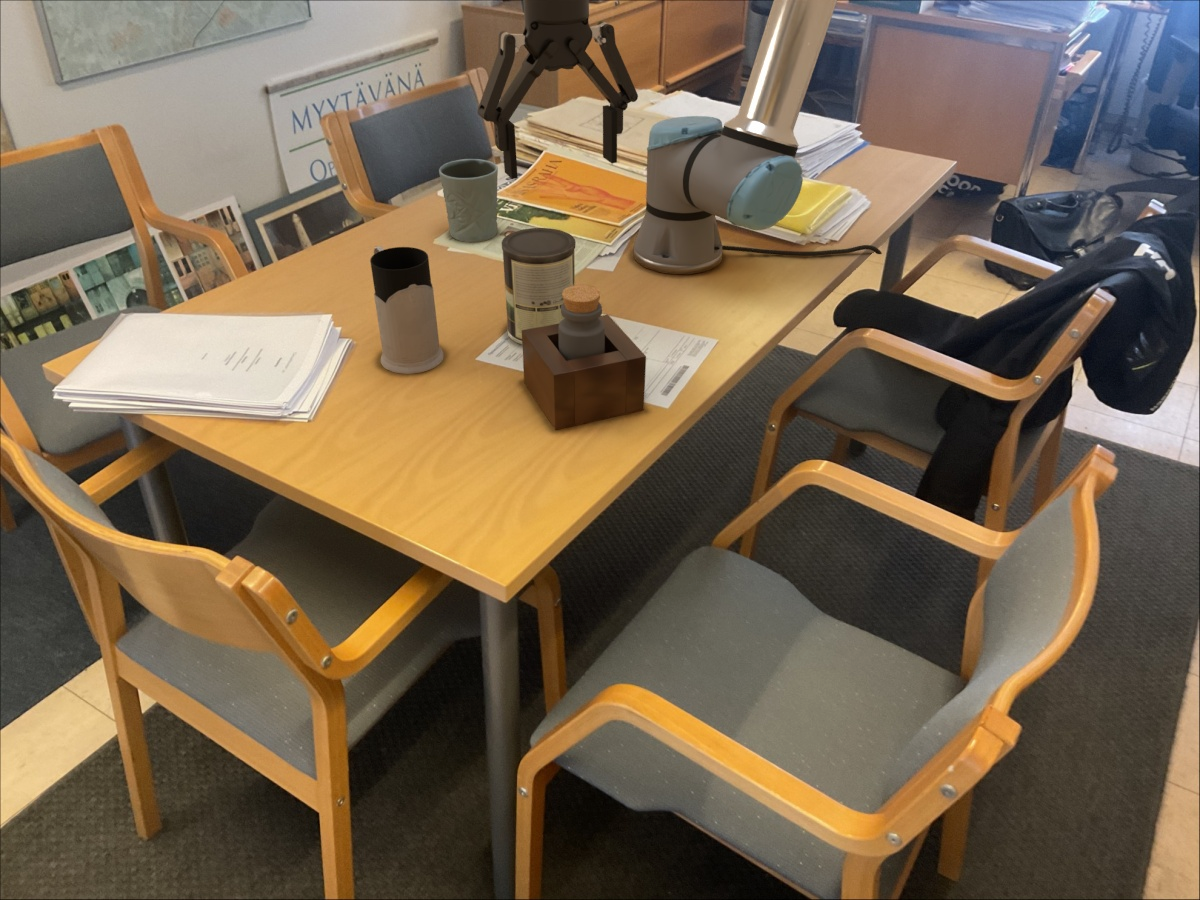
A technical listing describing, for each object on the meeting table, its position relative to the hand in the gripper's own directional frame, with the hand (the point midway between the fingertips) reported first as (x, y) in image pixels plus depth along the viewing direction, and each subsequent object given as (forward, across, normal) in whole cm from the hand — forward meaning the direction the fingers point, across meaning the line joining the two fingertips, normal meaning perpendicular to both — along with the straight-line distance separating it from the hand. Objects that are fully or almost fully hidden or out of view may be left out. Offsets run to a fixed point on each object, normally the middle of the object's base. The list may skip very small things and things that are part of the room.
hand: (561, 167), depth 114 cm
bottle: (+26, -4, -14) cm, 30 cm away
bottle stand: (+26, -3, -14) cm, 29 cm away
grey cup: (+26, 0, +45) cm, 52 cm away
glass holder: (+26, -22, +8) cm, 35 cm away
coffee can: (+26, -2, +5) cm, 27 cm away
